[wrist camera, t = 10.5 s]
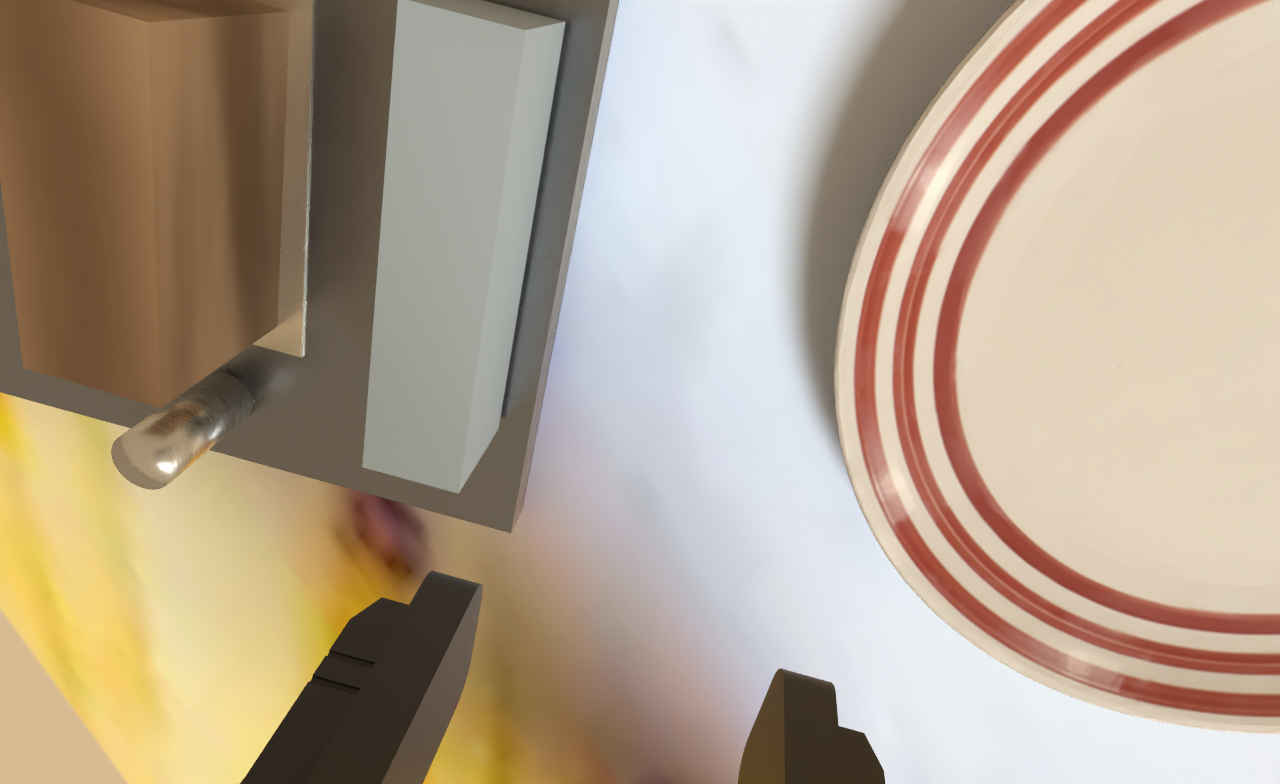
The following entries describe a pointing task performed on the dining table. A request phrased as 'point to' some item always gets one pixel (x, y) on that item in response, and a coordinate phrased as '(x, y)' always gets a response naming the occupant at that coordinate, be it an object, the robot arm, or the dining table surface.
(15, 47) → the block
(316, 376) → the housing base
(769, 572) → the dining table surface
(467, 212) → the bar
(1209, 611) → the dinner plate
